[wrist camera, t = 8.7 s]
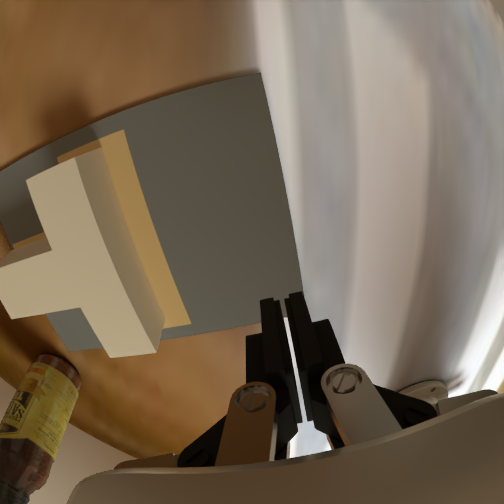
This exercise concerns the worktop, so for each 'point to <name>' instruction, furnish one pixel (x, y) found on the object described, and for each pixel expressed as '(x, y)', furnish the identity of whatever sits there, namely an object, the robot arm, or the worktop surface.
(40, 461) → the sauce bottle
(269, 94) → the worktop surface
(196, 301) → the mat
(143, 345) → the T block
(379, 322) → the worktop surface
